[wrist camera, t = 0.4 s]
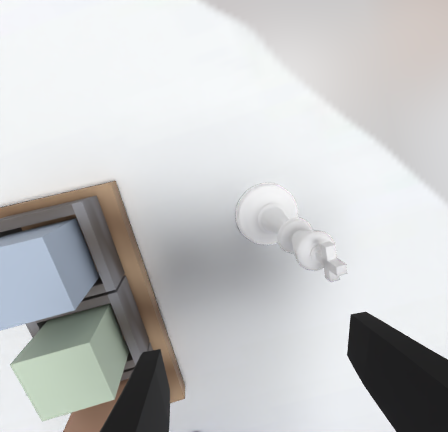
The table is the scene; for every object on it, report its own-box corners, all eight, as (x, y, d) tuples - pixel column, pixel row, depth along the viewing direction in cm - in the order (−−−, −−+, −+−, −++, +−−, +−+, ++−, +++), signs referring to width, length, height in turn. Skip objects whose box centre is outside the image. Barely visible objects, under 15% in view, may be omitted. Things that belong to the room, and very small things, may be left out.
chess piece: (243, 250, 20) (294, 338, 10) (228, 192, 19) (272, 230, 9) (299, 233, 20) (400, 304, 11) (289, 175, 19) (394, 195, 9)
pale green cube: (129, 351, 17) (114, 399, 14) (71, 368, 17) (42, 421, 14) (109, 303, 16) (89, 342, 13) (47, 320, 16) (10, 364, 13)
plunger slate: (99, 277, 16) (74, 310, 12) (34, 294, 15) (-9, 332, 12) (75, 218, 15) (42, 236, 11) (6, 235, 14) (-50, 259, 11)
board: (185, 385, 22) (184, 426, 19) (96, 413, 22) (78, 460, 18) (115, 180, 17) (97, 186, 14) (-3, 208, 17) (-52, 221, 13)
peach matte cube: (154, 414, 19) (146, 470, 15) (101, 430, 18) (82, 491, 15) (137, 373, 18) (126, 424, 14) (81, 390, 17) (56, 446, 14)
